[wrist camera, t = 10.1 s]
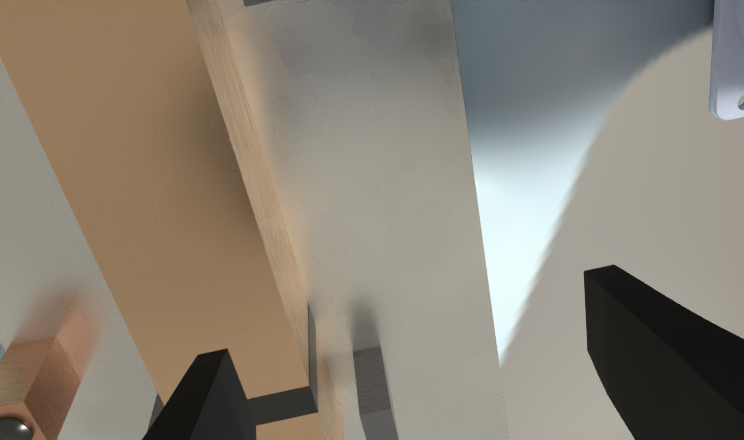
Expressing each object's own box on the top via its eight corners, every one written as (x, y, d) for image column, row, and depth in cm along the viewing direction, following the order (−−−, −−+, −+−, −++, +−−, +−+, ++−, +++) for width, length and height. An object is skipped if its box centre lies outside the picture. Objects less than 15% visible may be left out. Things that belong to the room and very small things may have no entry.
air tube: (343, 421, 25) (350, 514, 21) (237, 443, 25) (226, 540, 21) (185, -112, 16) (153, -104, 13) (22, -75, 16) (-55, -57, 13)
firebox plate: (396, -323, 16) (430, -385, 12) (498, 410, 27) (533, 506, 23) (-261, -174, 16) (-452, -184, 12) (117, 492, 28) (85, 602, 23)
